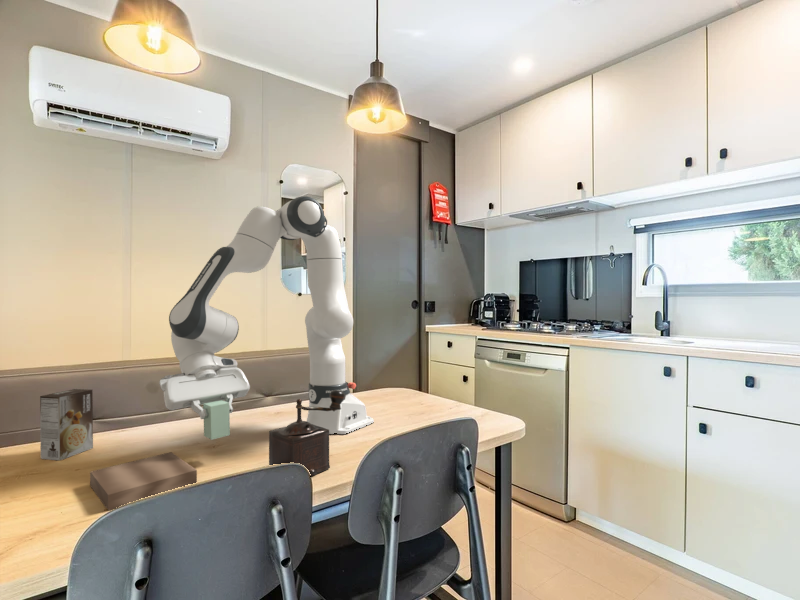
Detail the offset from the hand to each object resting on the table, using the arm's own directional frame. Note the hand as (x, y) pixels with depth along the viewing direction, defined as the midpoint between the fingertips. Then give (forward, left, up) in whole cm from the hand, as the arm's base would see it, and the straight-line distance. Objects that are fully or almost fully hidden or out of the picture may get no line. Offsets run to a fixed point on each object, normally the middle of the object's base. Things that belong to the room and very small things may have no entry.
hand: (217, 414), depth 102 cm
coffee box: (+24, -35, -12) cm, 44 cm away
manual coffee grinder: (-14, +19, -12) cm, 26 cm away
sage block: (0, -1, -5) cm, 5 cm away
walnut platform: (+16, +1, -12) cm, 20 cm away
